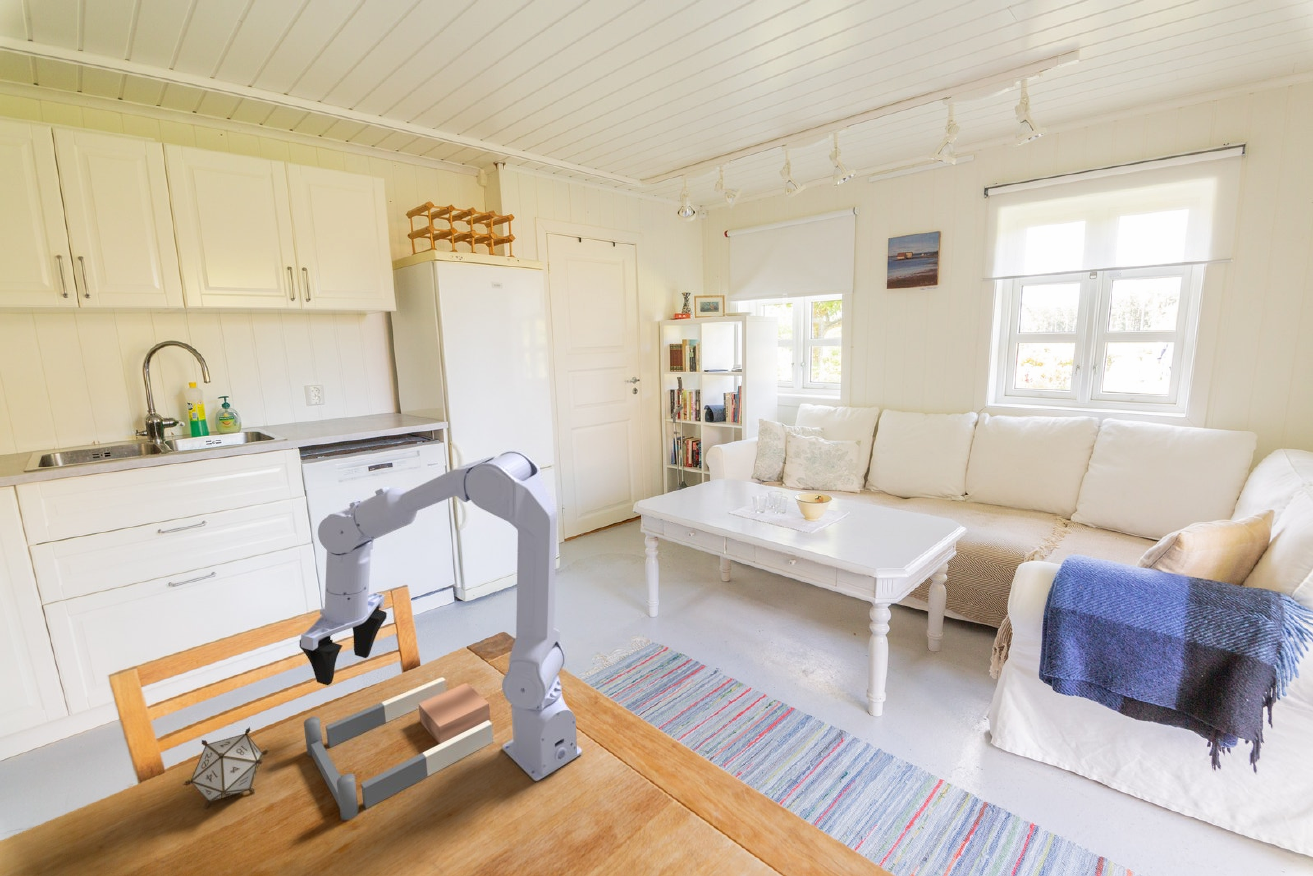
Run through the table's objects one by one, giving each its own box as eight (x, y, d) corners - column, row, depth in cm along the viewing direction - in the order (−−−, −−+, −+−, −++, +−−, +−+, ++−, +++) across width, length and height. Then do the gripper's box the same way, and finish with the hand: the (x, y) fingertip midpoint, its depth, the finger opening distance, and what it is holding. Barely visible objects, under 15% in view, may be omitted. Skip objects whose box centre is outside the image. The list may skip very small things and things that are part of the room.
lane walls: (493, 741, 86) (492, 723, 86) (427, 776, 80) (425, 757, 79) (443, 693, 99) (442, 677, 98) (383, 719, 92) (381, 702, 91)
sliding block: (490, 723, 91) (489, 703, 91) (441, 748, 86) (439, 727, 85) (467, 701, 97) (466, 682, 96) (420, 723, 91) (418, 703, 91)
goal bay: (428, 778, 79) (426, 745, 78) (343, 823, 72) (339, 787, 71) (382, 718, 92) (379, 690, 91) (305, 751, 85) (302, 721, 84)
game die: (241, 825, 76) (225, 803, 70) (179, 804, 76) (157, 781, 70) (287, 755, 83) (276, 729, 77) (230, 736, 83) (215, 708, 76)
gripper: (359, 562, 93) (356, 639, 96) (283, 600, 79) (281, 688, 82) (397, 572, 92) (393, 649, 94) (326, 612, 78) (323, 701, 80)
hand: (343, 668), depth 88 cm, fingers open, 7 cm apart
